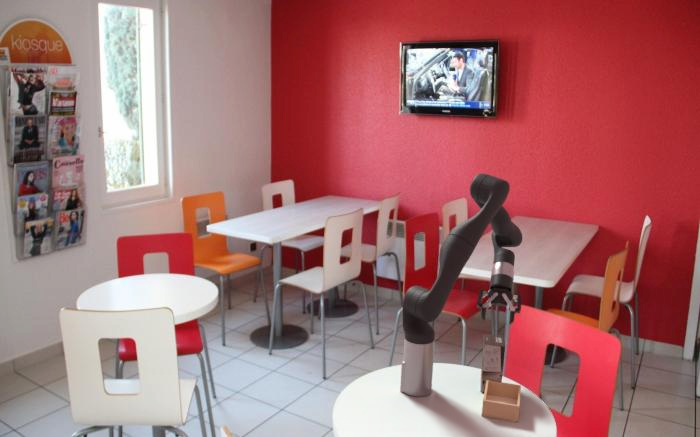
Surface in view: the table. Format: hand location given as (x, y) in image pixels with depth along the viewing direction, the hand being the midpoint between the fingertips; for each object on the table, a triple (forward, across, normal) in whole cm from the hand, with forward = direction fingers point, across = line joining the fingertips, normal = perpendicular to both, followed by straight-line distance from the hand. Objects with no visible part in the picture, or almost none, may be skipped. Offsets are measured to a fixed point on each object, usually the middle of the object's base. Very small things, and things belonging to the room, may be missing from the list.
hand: (497, 321), depth 208 cm
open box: (+30, +4, -4) cm, 30 cm away
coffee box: (+21, 0, +4) cm, 21 cm away
